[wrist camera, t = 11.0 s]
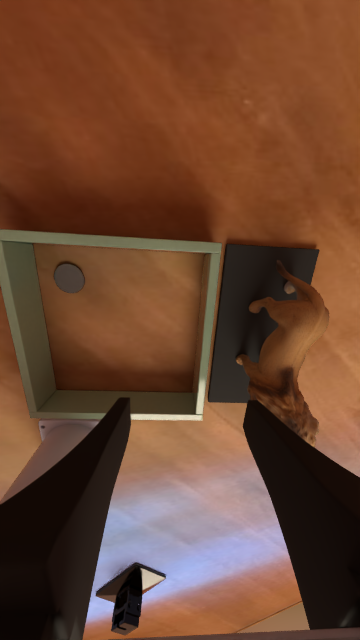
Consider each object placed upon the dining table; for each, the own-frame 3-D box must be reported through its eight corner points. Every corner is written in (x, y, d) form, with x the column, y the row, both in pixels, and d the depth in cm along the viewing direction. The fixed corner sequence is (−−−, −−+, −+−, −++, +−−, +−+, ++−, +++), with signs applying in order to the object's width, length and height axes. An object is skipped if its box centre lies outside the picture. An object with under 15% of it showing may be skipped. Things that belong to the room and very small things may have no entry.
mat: (278, 400, 24) (280, 403, 24) (207, 399, 24) (208, 402, 23) (316, 249, 19) (319, 249, 18) (225, 244, 18) (227, 243, 18)
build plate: (136, 561, 34) (130, 607, 29) (167, 575, 36) (167, 619, 31) (95, 593, 36) (84, 639, 32) (126, 604, 38) (120, 649, 34)
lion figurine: (273, 388, 23) (333, 465, 14) (229, 388, 23) (264, 466, 14) (300, 260, 19) (409, 262, 10) (246, 259, 18) (311, 259, 10)
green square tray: (198, 398, 24) (202, 420, 20) (50, 395, 23) (30, 418, 19) (213, 245, 18) (222, 242, 15) (22, 233, 17) (-14, 228, 14)
